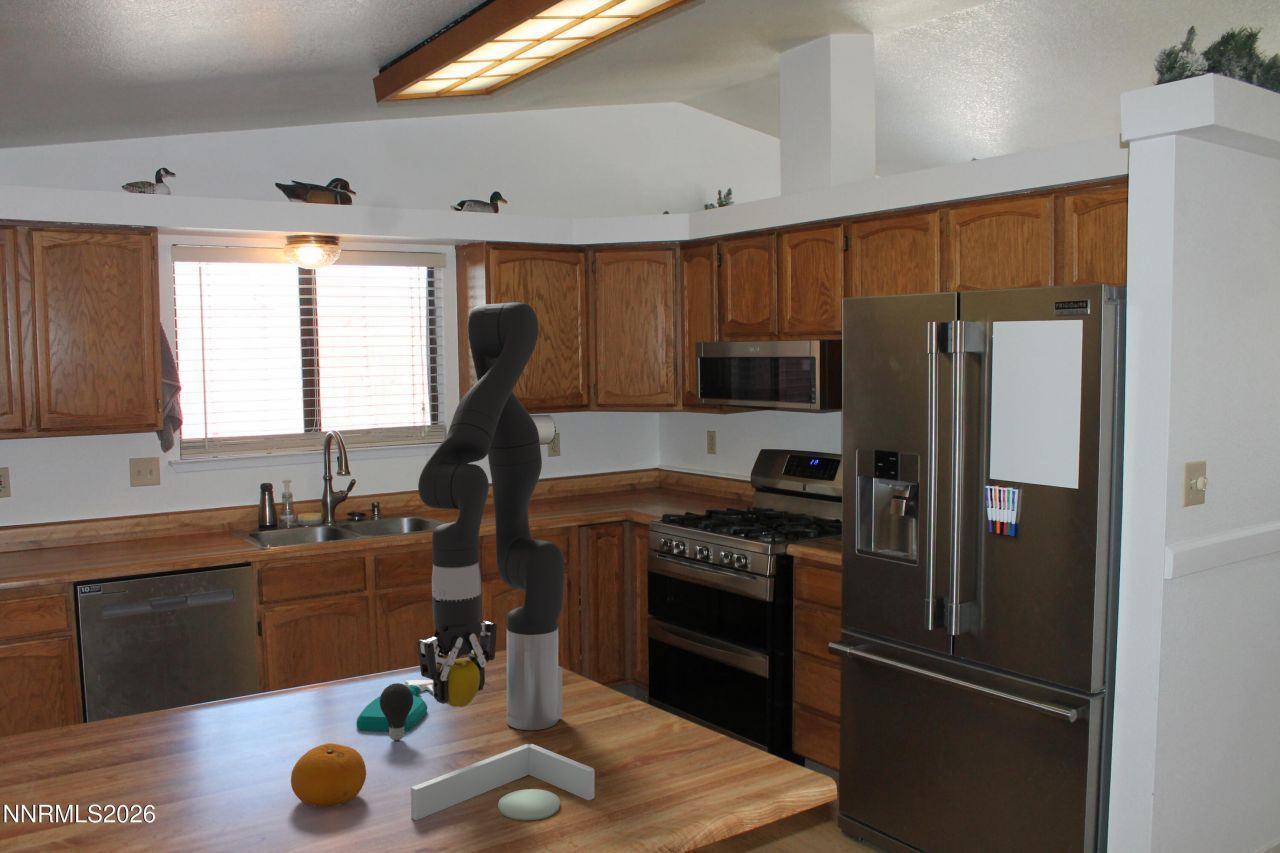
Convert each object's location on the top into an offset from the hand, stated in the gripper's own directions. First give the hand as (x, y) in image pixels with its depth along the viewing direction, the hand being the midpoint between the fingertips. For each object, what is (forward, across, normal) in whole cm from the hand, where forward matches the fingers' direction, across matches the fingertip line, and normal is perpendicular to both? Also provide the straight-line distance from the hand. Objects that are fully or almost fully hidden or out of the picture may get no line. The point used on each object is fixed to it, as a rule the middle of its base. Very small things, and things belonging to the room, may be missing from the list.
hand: (459, 695), depth 159 cm
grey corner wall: (+13, +3, +13) cm, 19 cm away
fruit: (+13, +19, -8) cm, 24 cm away
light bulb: (+13, -1, -19) cm, 24 cm away
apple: (+2, 0, 0) cm, 2 cm away
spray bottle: (+14, -12, -32) cm, 37 cm away
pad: (+13, 0, +16) cm, 20 cm away
